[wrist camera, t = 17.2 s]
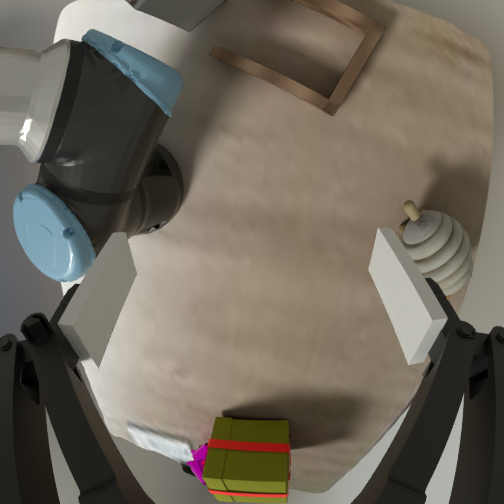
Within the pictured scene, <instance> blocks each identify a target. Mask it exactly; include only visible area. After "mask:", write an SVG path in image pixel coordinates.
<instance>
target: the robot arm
mask: <svg viewBox="0 0 504 504" xmlns="http://www.w3.org/2000/svg"><path fill="white" fill-rule="evenodd" d="M182 88H183V80H182V77H181V75H180V73H179V72H178V71H176V70H175V69H173V68H172V67H170V66H168V65H166V64H165V63H163V62H161V61H159V60H157V59H155V58H154V57H152V56H150V55H148V54H146V53H144V52H142V51H140V50H138V49H136V48H134V47H132V46H130V45H127V44H125V43H123V42H121V41H119V40H117V39H115V38H113V37H111V36H109V35H106V34H104V33H102V32H99V31H97V30H94V29H91V30H89V31H88V32H87V33H86V34H85V35H83V37H82V42H79V41H74V40H69V39H62V40H60V41H58V42H56V43H55V44H53V45H52V46H50V47H48V48H47V49H45V50H42V51H36V50H28V49H21V48H12V47H3V46H0V144H1V145H3V144H4V145H16V146H18V147H19V148H21V150H22V151H23V153H24V154H25V156H26V157H27V159H28V160H29V161H30V162H32V163H33V162H34V163H41V166H40V170H39V175H38V179H37V182H36V183H34V184H30V185H27V186H26V187H25V188H24V190H23V191H21V192H20V193H19V194H18V195H17V197H16V199H15V202H14V207H13V219H14V226H15V230H16V233H17V236H18V239H19V241H20V243H21V245H22V247H23V249H24V251H25V253H26V254H27V256H28V257H29V258H30V260H31V261H32V262H33V263H34V264H35V266H36V267H37V268H38V269H40V271H42V272H43V273H44V274H46V275H47V276H48V277H50V278H52V279H54V280H57V281H60V282H67V281H68V282H72V281H75V280H77V279H79V278H80V277H82V276H84V275H85V274H86V275H85V277H84V278H83V280H82V282H81V283H80V284H75V285H73V286H72V287H71V288H70V289H69V290H68V291H67V293H66V294H65V296H64V298H63V300H62V301H61V303H60V306H58V308H57V310H56V311H55V313H54V315H53V317H52V318H51V320H50V322H48V320H47V318H46V317H45V315H44V314H42V313H34V314H31V315H30V316H28V317H27V318H26V319H25V320H24V321H23V323H22V325H21V332H22V333H23V335H24V336H25V338H26V339H27V340H23V341H18V339H17V338H16V337H15V335H13V334H6V335H4V336H3V337H1V338H0V504H60V501H59V497H58V493H57V488H56V483H55V479H54V473H53V468H52V462H51V455H50V449H49V441H48V432H47V423H46V411H45V406H46V409H47V412H48V415H49V418H50V421H51V424H52V427H53V429H54V432H55V435H56V438H57V440H58V443H59V445H60V448H61V450H62V453H63V455H64V457H65V460H66V462H67V464H68V466H69V469H70V471H71V473H72V475H73V477H74V480H75V482H76V484H77V486H78V487H79V490H80V496H79V497H78V498H79V503H80V504H155V503H154V502H153V501H152V500H151V499H150V498H149V497H148V495H147V494H146V493H145V492H144V491H143V489H142V487H141V486H140V484H139V483H138V481H137V480H136V478H135V477H134V475H133V474H132V472H131V471H130V469H129V467H128V466H127V464H126V462H125V461H124V459H123V457H122V456H121V454H120V452H119V450H118V449H117V447H116V445H115V444H114V442H113V440H112V438H111V436H110V434H109V433H108V431H107V429H106V427H105V425H104V423H103V421H102V419H101V417H100V415H99V413H98V411H97V409H96V407H95V405H94V403H93V400H92V398H91V396H90V394H89V392H88V389H87V387H86V385H85V383H84V380H83V378H82V376H81V373H80V371H79V369H78V367H77V366H76V365H77V362H78V360H79V359H80V361H81V362H82V364H83V365H84V367H90V368H97V369H99V366H100V364H101V361H102V358H103V355H104V353H105V350H106V347H107V345H108V342H109V340H110V337H111V334H112V332H113V329H114V327H115V324H116V322H117V319H118V317H119V314H120V312H121V310H122V307H123V305H124V302H125V300H126V298H127V295H128V293H129V291H130V288H131V286H132V284H133V282H134V279H135V277H136V275H137V272H136V268H135V265H134V261H133V258H132V254H131V251H130V247H129V243H128V239H129V238H130V237H132V236H134V235H141V234H148V233H152V232H154V231H156V230H158V229H160V228H162V227H163V226H164V225H166V224H167V223H168V222H169V221H170V220H171V219H172V218H173V217H174V216H175V215H176V213H177V211H178V209H179V207H180V205H181V202H182V197H183V180H182V175H181V172H180V169H179V167H178V165H177V163H176V161H175V159H174V158H173V157H172V155H171V154H170V153H169V152H168V151H167V150H166V149H165V148H164V147H162V146H161V145H159V144H157V141H158V139H159V137H160V135H161V132H162V130H163V128H164V126H165V124H166V122H167V120H168V118H171V117H172V115H173V113H172V110H173V108H174V106H175V104H176V102H177V100H178V97H179V95H180V93H181V91H182ZM369 272H370V274H371V276H372V279H373V281H374V283H375V285H376V287H377V290H378V292H379V294H380V296H381V299H382V301H383V303H384V306H385V308H386V310H387V313H388V315H389V317H390V320H391V322H392V324H393V327H394V329H395V332H396V334H397V337H398V339H399V342H400V344H401V347H402V349H403V352H404V355H405V357H406V360H407V363H408V365H411V364H417V363H422V362H424V360H425V358H426V357H427V355H428V354H429V356H430V359H431V362H430V363H429V365H428V366H427V368H426V369H425V371H424V372H423V374H422V375H423V376H424V377H423V379H422V382H421V384H420V386H419V389H418V391H417V393H416V395H415V398H414V400H413V402H412V404H411V406H410V408H409V410H408V412H407V414H406V417H405V418H404V421H403V422H402V424H401V426H400V428H399V430H398V432H397V434H396V436H395V438H394V439H393V441H392V443H391V445H390V447H389V448H388V450H387V452H386V454H385V455H384V457H383V459H382V461H381V462H380V464H379V466H378V467H377V469H376V470H375V472H374V473H373V475H372V477H371V478H370V480H369V481H368V483H367V484H366V486H365V487H364V489H363V490H362V491H361V493H360V494H359V495H358V496H357V497H356V498H355V499H354V500H353V502H352V503H351V504H425V502H426V494H425V490H426V488H427V485H428V483H429V481H430V479H431V477H432V475H433V473H434V471H435V469H436V467H437V464H438V462H439V460H440V458H441V455H442V453H443V451H444V448H445V446H446V443H447V441H448V438H449V435H450V433H451V430H452V427H453V425H454V422H455V419H456V416H457V413H458V410H459V407H460V404H461V401H462V397H463V394H464V408H463V420H462V421H463V422H462V431H461V439H460V448H459V454H458V461H457V467H456V472H455V478H454V483H453V487H452V492H451V497H450V501H449V504H504V328H503V327H501V326H496V327H493V329H492V330H491V332H490V333H489V334H484V333H478V332H476V331H475V329H474V328H473V326H472V325H470V324H469V323H467V322H465V321H460V319H459V318H458V316H457V314H456V312H455V311H454V309H453V307H452V306H451V304H450V302H449V301H448V300H447V297H446V296H445V294H444V293H443V291H442V289H441V288H440V286H439V285H438V283H436V282H435V281H434V280H433V279H432V278H431V277H429V278H424V277H423V275H422V274H421V272H420V270H419V269H418V267H417V266H416V264H415V263H414V261H413V259H412V258H411V256H410V255H409V253H408V252H407V250H406V249H405V247H404V246H403V244H402V243H401V242H400V240H399V239H398V237H397V236H396V234H395V233H394V231H393V230H392V229H391V228H378V230H377V235H376V239H375V244H374V249H373V253H372V257H371V261H370V266H369Z"/></svg>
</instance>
